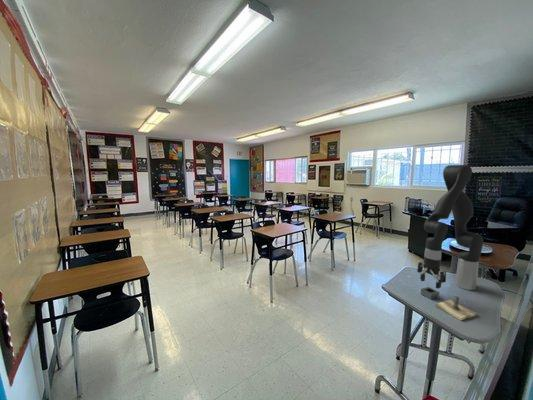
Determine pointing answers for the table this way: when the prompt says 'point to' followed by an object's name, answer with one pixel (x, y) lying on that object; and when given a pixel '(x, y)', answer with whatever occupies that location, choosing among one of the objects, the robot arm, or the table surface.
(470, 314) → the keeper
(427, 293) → the link
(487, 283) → the table surface
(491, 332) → the table surface
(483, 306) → the table surface
